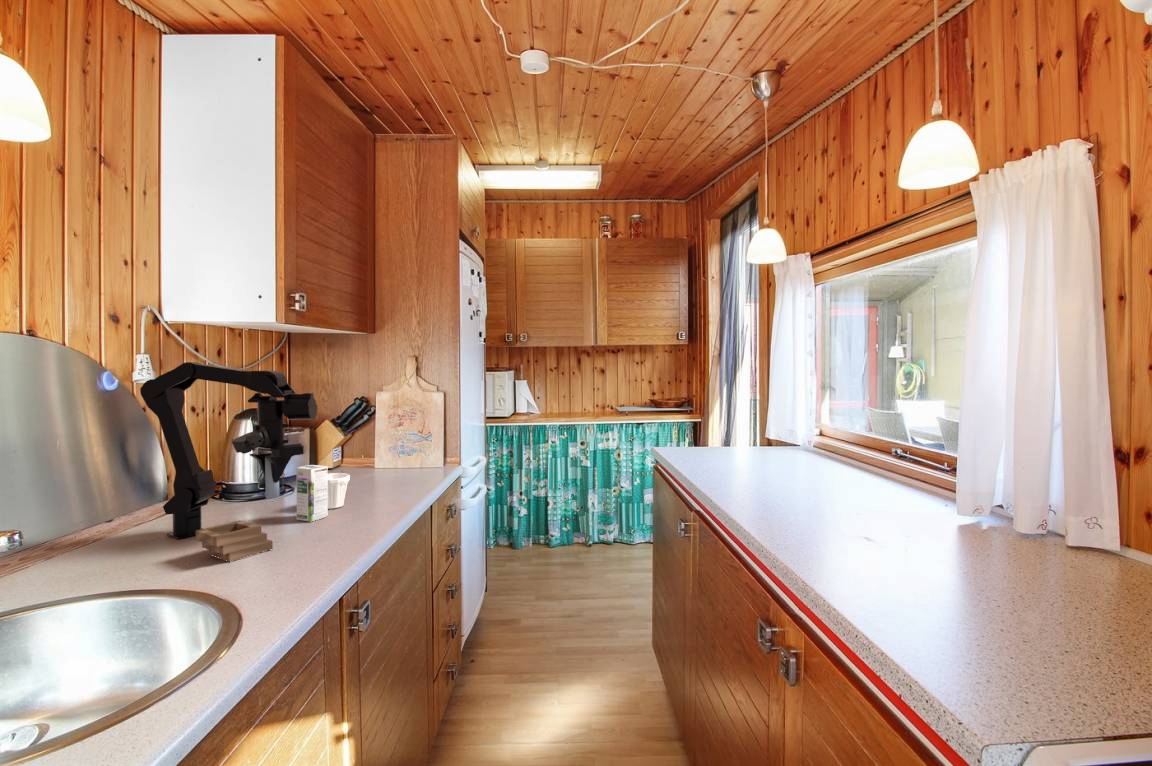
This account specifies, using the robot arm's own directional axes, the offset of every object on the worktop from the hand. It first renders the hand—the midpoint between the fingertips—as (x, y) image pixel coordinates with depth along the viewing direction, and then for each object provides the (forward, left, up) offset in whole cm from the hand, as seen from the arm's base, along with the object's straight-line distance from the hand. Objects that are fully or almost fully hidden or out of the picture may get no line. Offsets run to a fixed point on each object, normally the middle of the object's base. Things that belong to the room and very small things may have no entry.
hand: (272, 481), depth 130 cm
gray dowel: (0, 0, -4) cm, 4 cm away
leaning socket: (+9, -13, -13) cm, 20 cm away
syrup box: (-2, +12, -13) cm, 18 cm away
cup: (-8, +22, -13) cm, 27 cm away
